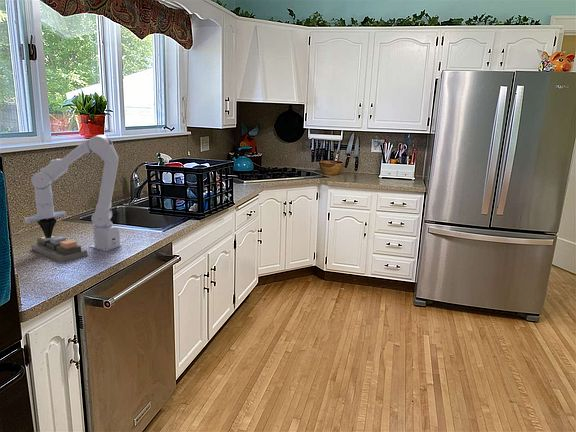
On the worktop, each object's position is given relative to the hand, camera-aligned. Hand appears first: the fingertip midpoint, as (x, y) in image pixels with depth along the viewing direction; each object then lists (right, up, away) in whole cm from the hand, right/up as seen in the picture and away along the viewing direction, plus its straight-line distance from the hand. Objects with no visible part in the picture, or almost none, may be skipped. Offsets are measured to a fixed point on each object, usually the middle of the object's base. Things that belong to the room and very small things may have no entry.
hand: (48, 237), depth 163 cm
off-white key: (0, -2, 0) cm, 2 cm away
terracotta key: (+12, -3, -8) cm, 15 cm away
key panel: (+6, -5, -3) cm, 9 cm away
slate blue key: (+6, -2, -4) cm, 8 cm away
